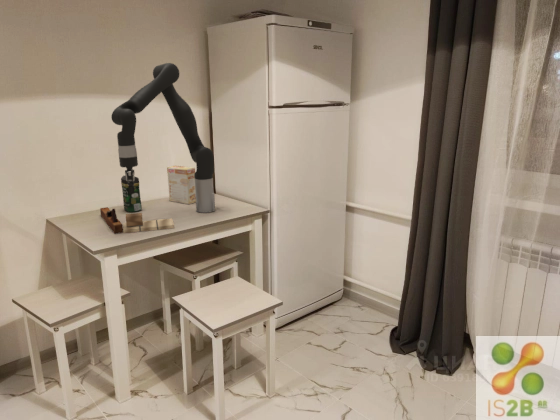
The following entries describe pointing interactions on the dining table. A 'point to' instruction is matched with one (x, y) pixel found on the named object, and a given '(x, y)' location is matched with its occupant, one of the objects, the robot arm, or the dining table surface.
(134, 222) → the block
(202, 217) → the dining table surface
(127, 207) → the coffee jar
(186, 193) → the coffeecake box
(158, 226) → the board
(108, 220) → the hand plane
